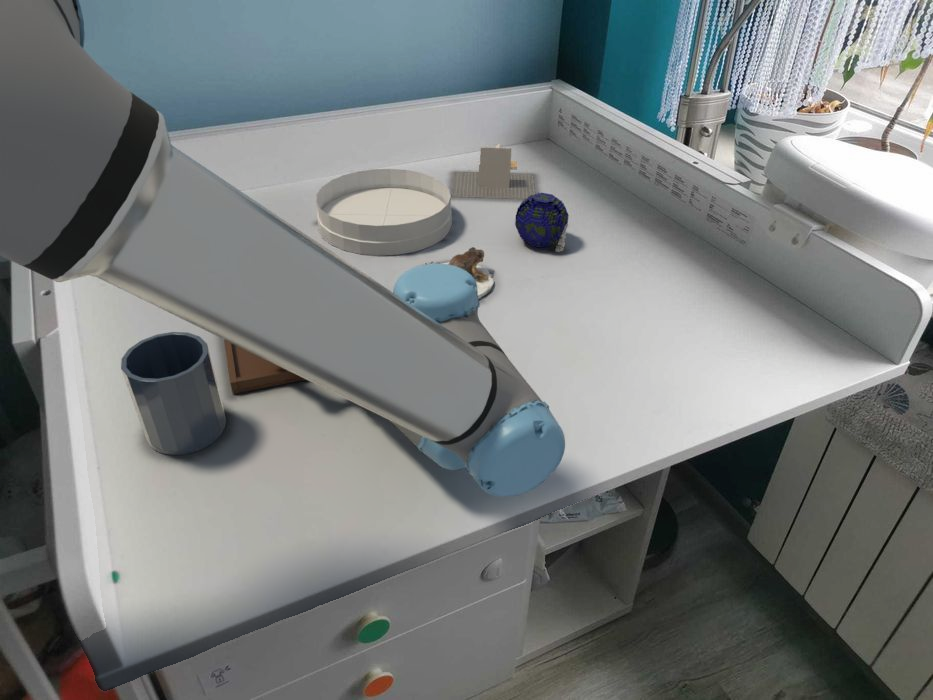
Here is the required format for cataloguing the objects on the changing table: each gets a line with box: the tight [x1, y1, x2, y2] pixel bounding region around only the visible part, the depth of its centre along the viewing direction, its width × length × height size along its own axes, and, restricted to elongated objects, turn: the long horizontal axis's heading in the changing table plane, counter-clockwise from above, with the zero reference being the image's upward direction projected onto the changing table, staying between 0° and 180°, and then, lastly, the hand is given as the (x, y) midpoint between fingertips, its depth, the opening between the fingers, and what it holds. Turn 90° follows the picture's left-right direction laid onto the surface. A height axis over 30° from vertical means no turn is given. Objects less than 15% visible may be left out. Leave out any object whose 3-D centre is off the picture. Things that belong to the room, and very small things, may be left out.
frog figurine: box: [424, 246, 495, 301], centre depth 101 cm, size 12×12×4 cm
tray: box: [223, 339, 307, 395], centre depth 90 cm, size 20×18×2 cm
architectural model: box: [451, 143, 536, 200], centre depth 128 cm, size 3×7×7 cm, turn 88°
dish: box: [315, 168, 453, 257], centre depth 115 cm, size 22×22×5 cm
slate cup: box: [120, 331, 227, 456], centre depth 73 cm, size 8×8×10 cm
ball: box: [514, 192, 570, 253], centre depth 110 cm, size 8×8×8 cm
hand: (281, 280), depth 89 cm, fingers open, 9 cm apart
